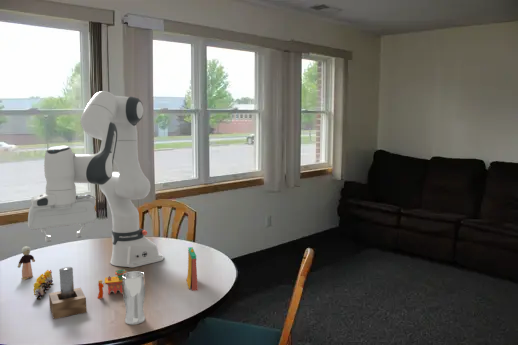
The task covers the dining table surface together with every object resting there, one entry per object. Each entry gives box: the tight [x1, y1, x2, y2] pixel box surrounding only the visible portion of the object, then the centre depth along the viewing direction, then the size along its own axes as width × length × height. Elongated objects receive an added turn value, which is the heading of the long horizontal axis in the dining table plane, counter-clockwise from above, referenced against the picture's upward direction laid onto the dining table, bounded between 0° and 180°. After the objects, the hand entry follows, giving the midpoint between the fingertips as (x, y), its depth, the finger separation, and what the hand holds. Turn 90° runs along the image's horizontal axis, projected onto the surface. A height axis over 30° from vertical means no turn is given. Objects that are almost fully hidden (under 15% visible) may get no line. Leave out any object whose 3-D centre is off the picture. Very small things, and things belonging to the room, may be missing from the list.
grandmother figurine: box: [17, 246, 36, 281], centre depth 184 cm, size 8×4×13 cm, turn 168°
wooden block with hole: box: [48, 287, 88, 320], centre depth 155 cm, size 10×10×5 cm
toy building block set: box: [97, 246, 199, 299], centre depth 173 cm, size 12×35×14 cm, turn 105°
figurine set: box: [32, 269, 54, 301], centre depth 170 cm, size 3×16×7 cm, turn 8°
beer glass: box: [121, 270, 146, 326], centre depth 146 cm, size 7×7×15 cm
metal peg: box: [58, 266, 75, 300], centre depth 154 cm, size 4×4×14 cm
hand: (64, 239), depth 152 cm, fingers open, 8 cm apart
